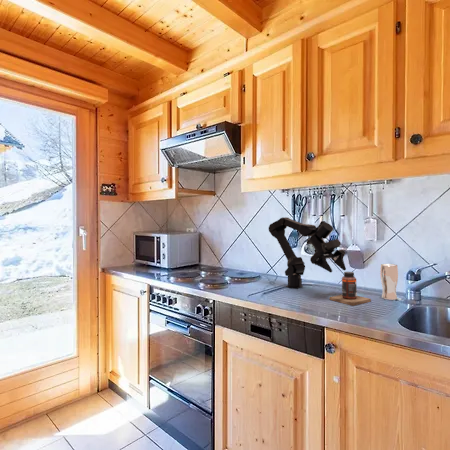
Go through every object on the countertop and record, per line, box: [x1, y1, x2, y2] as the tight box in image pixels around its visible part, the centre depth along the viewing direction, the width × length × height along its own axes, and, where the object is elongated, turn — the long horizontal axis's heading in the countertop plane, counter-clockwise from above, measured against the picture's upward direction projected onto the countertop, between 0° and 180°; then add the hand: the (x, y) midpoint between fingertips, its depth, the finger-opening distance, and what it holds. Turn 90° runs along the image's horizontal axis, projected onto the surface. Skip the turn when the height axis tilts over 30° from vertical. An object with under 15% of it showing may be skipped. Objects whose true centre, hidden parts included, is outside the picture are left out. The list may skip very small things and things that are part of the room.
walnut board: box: [329, 294, 372, 307], centre depth 134 cm, size 12×12×1 cm
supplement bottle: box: [341, 271, 358, 299], centre depth 134 cm, size 6×6×11 cm
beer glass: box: [379, 263, 399, 301], centre depth 137 cm, size 7×7×15 cm
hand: (338, 270), depth 139 cm, fingers open, 9 cm apart
